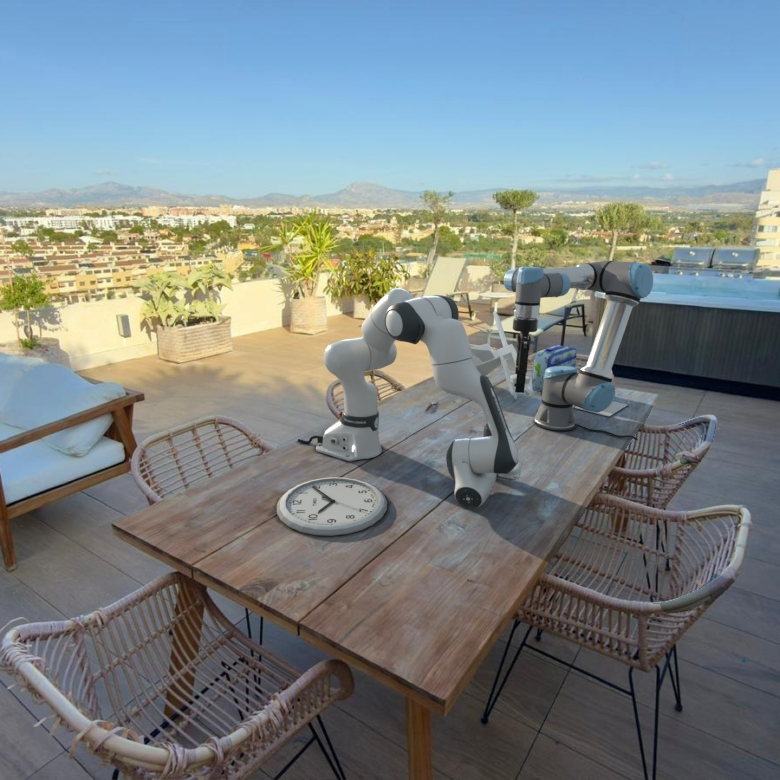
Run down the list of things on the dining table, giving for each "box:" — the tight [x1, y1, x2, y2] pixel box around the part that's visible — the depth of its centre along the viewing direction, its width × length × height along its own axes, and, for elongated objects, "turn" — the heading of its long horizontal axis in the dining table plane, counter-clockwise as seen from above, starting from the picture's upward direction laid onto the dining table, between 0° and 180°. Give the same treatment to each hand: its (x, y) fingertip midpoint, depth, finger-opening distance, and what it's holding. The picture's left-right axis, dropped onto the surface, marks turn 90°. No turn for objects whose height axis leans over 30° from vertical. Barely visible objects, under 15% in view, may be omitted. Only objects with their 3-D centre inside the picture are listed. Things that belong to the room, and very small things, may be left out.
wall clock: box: [276, 476, 388, 537], centre depth 142 cm, size 30×2×30 cm
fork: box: [425, 396, 439, 412], centre depth 222 cm, size 3×16×2 cm, turn 160°
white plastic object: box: [470, 310, 531, 400], centre depth 245 cm, size 37×45×31 cm
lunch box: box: [531, 345, 577, 394], centre depth 245 cm, size 26×11×21 cm, turn 134°
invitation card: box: [573, 400, 629, 418], centre depth 226 cm, size 21×1×15 cm
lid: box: [510, 373, 530, 385], centre depth 168 cm, size 6×6×2 cm
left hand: (491, 455), depth 161 cm, fingers closed on jar, 5 cm apart
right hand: (518, 389), depth 169 cm, fingers closed on lid, 6 cm apart
